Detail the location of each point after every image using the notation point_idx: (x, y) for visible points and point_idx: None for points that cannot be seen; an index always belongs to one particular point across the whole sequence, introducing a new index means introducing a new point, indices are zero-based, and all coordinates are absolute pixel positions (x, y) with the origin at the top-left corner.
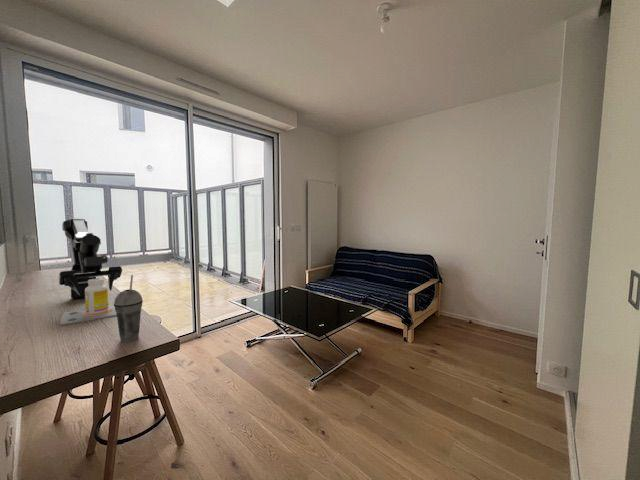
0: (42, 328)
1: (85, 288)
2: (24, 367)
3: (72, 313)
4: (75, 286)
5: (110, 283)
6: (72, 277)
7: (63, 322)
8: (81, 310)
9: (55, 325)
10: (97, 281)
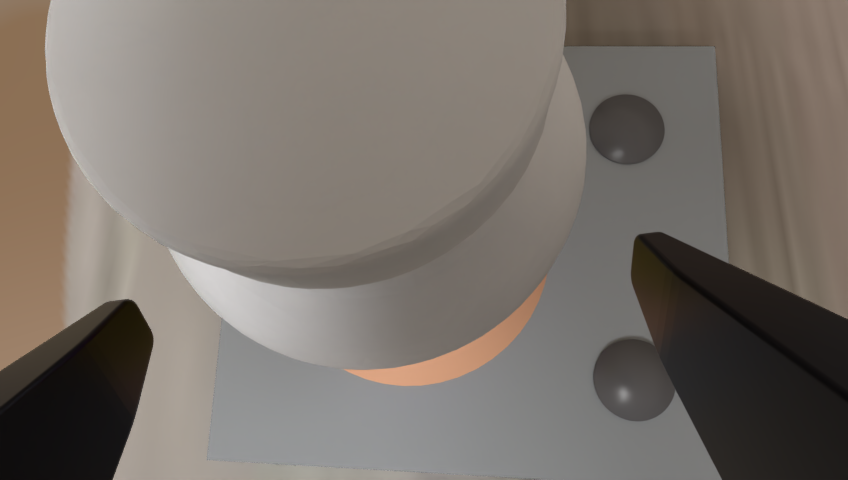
0: (832, 78)
1: (578, 129)
2: None
3: (642, 365)
4: (845, 325)
5: (13, 387)
6: None
7: (690, 82)
8: (560, 452)
9: (742, 99)
10: None
